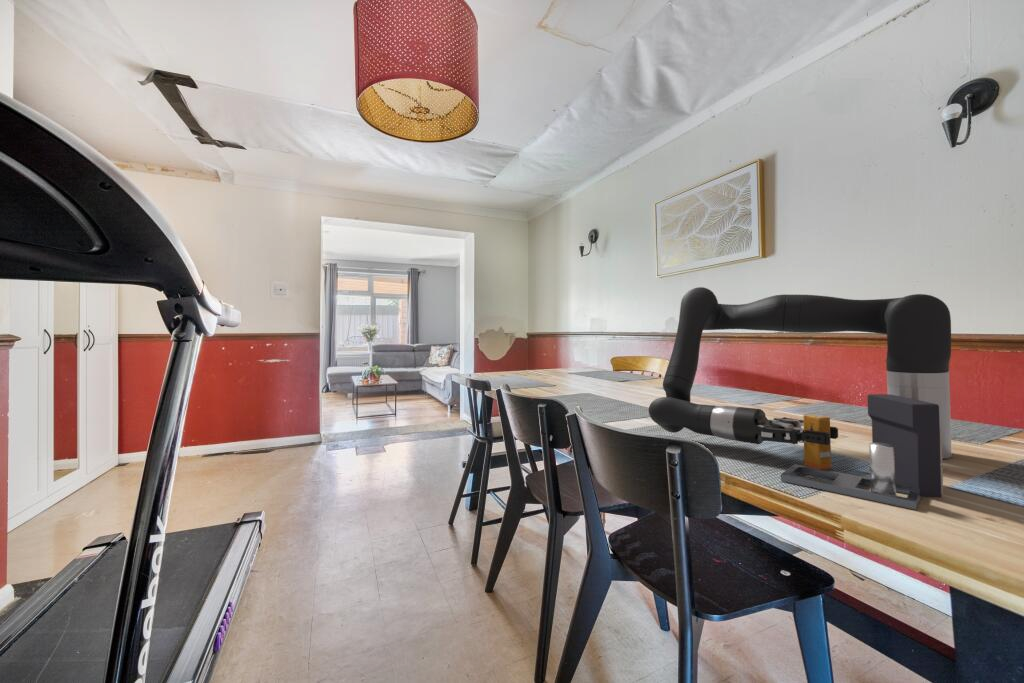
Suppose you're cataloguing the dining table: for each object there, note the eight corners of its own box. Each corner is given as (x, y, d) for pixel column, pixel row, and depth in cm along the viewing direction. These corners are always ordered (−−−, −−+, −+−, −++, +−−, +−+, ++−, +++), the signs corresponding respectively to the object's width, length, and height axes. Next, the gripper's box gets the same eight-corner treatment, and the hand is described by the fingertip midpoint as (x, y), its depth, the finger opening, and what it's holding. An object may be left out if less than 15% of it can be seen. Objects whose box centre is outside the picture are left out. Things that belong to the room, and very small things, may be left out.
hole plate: (794, 470, 76) (794, 464, 76) (921, 494, 63) (921, 487, 63) (781, 481, 71) (780, 474, 71) (915, 509, 58) (915, 501, 58)
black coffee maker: (947, 500, 62) (945, 404, 62) (915, 499, 63) (912, 404, 63) (896, 475, 73) (894, 393, 73) (868, 475, 74) (866, 394, 74)
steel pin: (872, 489, 66) (871, 441, 66) (897, 494, 64) (896, 444, 64) (869, 494, 64) (867, 445, 64) (894, 500, 62) (893, 448, 62)
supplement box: (833, 468, 77) (831, 416, 77) (819, 470, 76) (817, 418, 76) (816, 463, 80) (814, 413, 80) (802, 465, 79) (801, 415, 79)
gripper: (723, 411, 84) (823, 422, 71) (749, 402, 93) (842, 410, 80) (724, 447, 84) (824, 464, 71) (750, 434, 93) (843, 448, 80)
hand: (833, 436), depth 76 cm, fingers open, 5 cm apart
